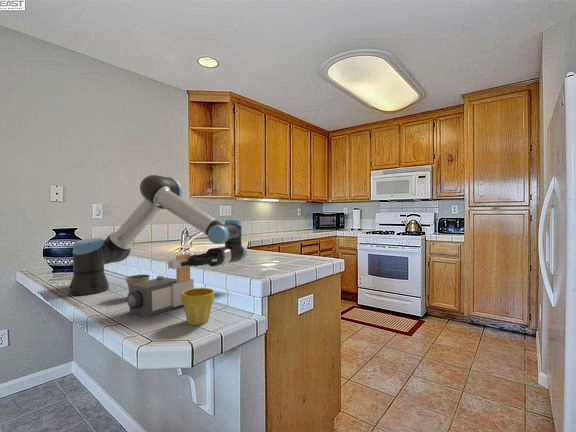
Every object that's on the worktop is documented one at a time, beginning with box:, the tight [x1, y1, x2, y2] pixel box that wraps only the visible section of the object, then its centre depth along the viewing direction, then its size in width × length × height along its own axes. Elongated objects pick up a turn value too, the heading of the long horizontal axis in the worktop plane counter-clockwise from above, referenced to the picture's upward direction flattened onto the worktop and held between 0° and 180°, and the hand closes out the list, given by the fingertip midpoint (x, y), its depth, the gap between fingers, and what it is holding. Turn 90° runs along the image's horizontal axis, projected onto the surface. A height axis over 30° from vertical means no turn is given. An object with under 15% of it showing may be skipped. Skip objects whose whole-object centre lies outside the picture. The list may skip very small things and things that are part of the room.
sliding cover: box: [172, 253, 195, 307], centre depth 114 cm, size 9×2×18 cm, turn 148°
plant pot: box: [181, 287, 215, 326], centre depth 98 cm, size 10×10×10 cm
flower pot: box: [124, 274, 151, 290], centre depth 127 cm, size 9×9×9 cm
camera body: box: [126, 275, 182, 318], centre depth 110 cm, size 16×10×11 cm, turn 148°
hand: (170, 265), depth 109 cm, fingers closed on sliding cover, 2 cm apart
